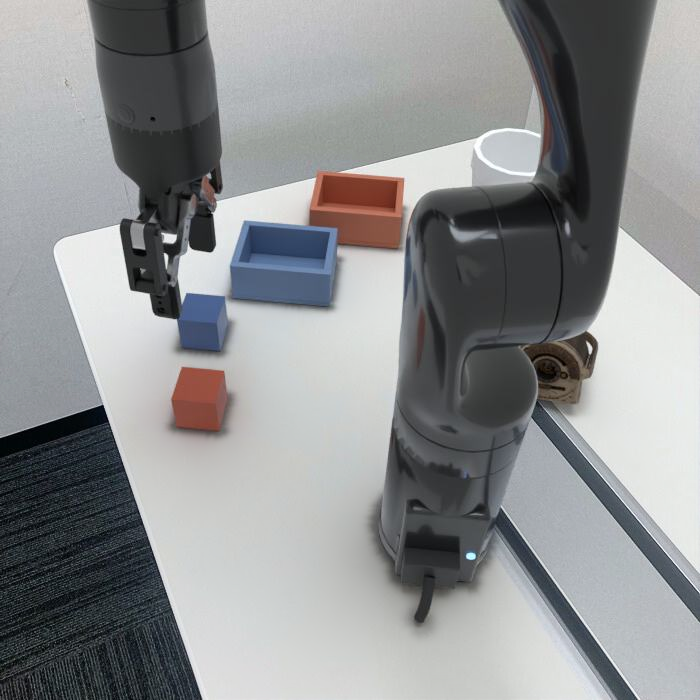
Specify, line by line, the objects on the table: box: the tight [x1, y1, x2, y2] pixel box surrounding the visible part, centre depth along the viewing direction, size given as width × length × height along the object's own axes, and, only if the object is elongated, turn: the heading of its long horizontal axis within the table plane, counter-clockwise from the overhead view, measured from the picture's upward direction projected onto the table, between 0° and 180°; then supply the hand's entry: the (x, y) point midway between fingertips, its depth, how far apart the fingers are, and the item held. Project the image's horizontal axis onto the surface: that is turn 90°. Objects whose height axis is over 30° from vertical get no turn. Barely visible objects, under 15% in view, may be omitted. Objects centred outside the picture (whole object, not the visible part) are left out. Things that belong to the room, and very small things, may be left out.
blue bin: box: [229, 220, 338, 308], centre depth 83 cm, size 8×11×5 cm
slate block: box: [176, 292, 229, 352], centre depth 77 cm, size 4×4×4 cm
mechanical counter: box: [519, 328, 599, 405], centre depth 74 cm, size 7×13×10 cm
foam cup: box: [470, 127, 541, 187], centre depth 85 cm, size 10×9×13 cm
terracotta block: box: [170, 366, 229, 432], centre depth 70 cm, size 4×4×4 cm
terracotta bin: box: [308, 170, 405, 250], centre depth 90 cm, size 8×11×5 cm
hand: (186, 280), depth 62 cm, fingers open, 8 cm apart
